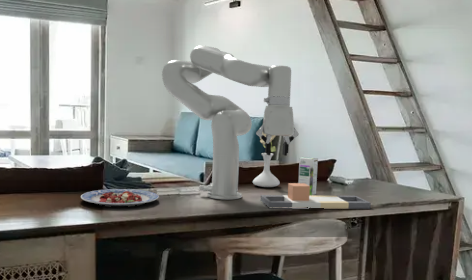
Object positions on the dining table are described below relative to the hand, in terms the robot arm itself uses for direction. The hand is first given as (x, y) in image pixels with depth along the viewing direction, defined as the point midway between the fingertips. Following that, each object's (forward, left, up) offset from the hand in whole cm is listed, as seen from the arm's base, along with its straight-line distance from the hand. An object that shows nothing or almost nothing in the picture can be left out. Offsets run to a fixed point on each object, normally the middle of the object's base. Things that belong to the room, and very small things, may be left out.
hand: (276, 154), depth 182 cm
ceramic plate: (-53, +5, -18) cm, 56 cm away
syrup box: (+17, +19, -18) cm, 31 cm away
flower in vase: (+5, +36, -18) cm, 40 cm away
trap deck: (+14, 0, -17) cm, 23 cm away
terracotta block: (+8, 0, -15) cm, 18 cm away
